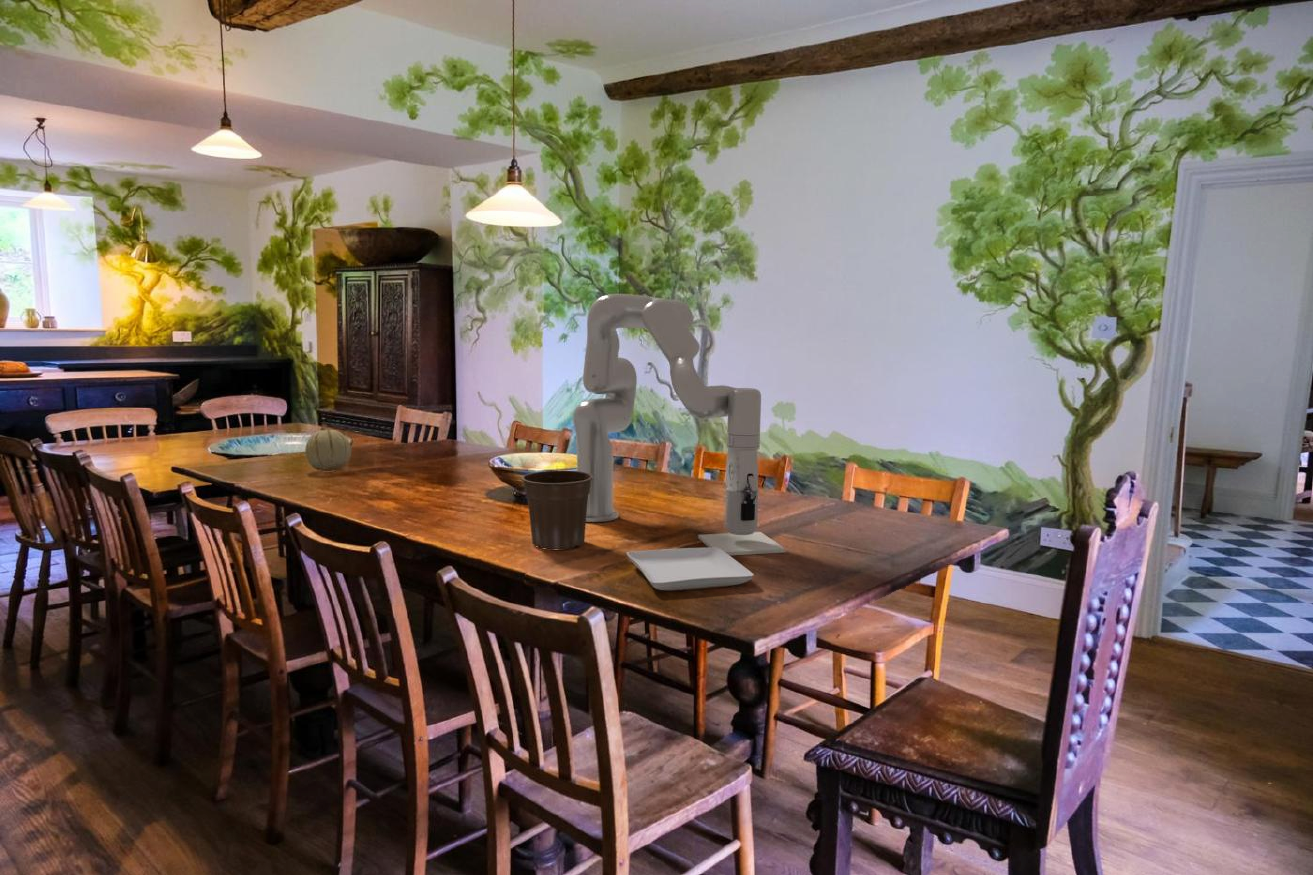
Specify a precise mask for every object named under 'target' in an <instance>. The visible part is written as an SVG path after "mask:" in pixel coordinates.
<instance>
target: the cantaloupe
mask: <svg viewBox="0 0 1313 875" xmlns="http://www.w3.org/2000/svg"><path fill="white" fill-rule="evenodd" d="M304 452H305V458H306V460H307V461H308V464H309V465H311V467H312V468H314V469H315V470H317V471H319V470H321V471H320V472H323V471H332V470H337V471H339V470H342V468H344V467H345V466H346V465H347V464H348V463H349V461H350V458H351V455H352V447H351V443H350V441H349V440H348V437H346V435H344V434H343V433H342V432H340V431H338V430H335V429H327V428H326V427H321V428H320V430H319V431H316V432H315V433H313V434H312V435H311V436H310V437H309V439H308V440H307V442H306V444H305V451H304Z"/></svg>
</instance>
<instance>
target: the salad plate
mask: <svg viewBox="0 0 1313 875" xmlns="http://www.w3.org/2000/svg"><path fill="white" fill-rule="evenodd" d="M626 555H627V557H628V558H629V560H630V561H631V562H632V563H633V565H635V566H636V568H637V569H639V571H641V573H642V574H643V575H644V577H645V578H646V579H647V580H648V582H649V583H650V585H651V586H652V587H653V588H655V589H657V590H659V591H683V590H684V589H685V590H696V589H708V588H719V587H720V588H721V587H730V586H736V585H742V584H744V583H747V582H749V581H751V579H753V577H754V573H753V572H752V571H750V570H749V569H748V568H747V567H745V566H744V565H743V564H741V563H740V562H739V561H737V560H736V559H735V558H733V557H732V555H730V556H729V555H728V554H727V553H726V552H724V551H723V550H722V549H720V548H717V547H708V546H707V547H688V548H687V547H686V548H685V547H683V548H666V549H665V548H663V549H652V550H651V549H650V550H635V551H627V552H626Z"/></svg>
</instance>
